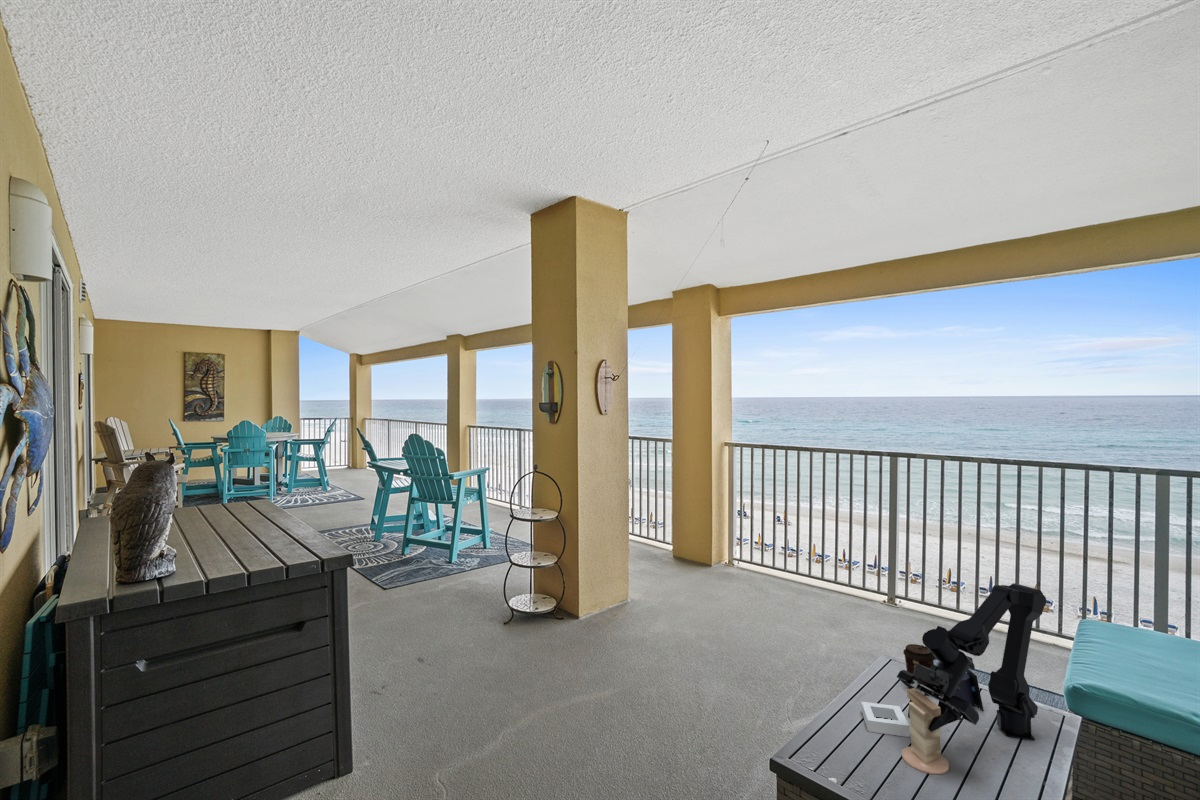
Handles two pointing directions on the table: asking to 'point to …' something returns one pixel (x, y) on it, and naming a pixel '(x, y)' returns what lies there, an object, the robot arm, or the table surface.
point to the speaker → (970, 690)
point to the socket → (885, 725)
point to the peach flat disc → (931, 767)
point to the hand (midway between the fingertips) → (919, 724)
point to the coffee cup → (918, 658)
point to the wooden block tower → (923, 726)
